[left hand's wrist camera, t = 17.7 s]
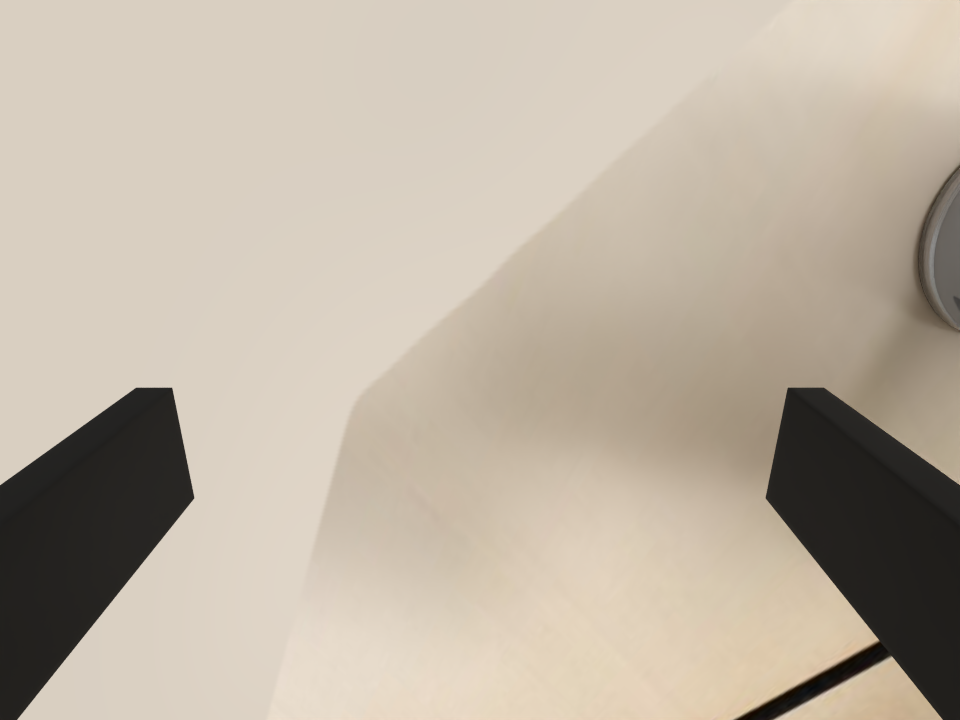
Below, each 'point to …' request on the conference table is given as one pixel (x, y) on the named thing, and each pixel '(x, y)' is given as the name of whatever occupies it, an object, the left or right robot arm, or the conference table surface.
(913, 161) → the conference table surface
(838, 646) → the conference table surface
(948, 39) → the conference table surface
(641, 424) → the conference table surface
